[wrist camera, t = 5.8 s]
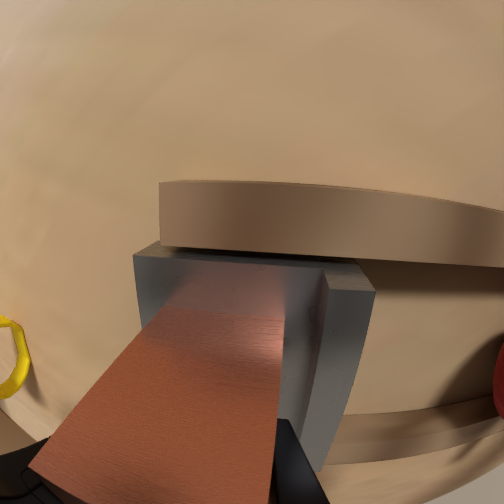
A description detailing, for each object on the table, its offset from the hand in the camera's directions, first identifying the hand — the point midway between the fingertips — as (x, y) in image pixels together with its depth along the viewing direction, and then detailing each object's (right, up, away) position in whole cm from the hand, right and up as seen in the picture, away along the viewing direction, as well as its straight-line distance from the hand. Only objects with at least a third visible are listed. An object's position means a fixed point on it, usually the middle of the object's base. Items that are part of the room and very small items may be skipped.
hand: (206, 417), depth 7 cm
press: (+1, +1, +4) cm, 4 cm away
